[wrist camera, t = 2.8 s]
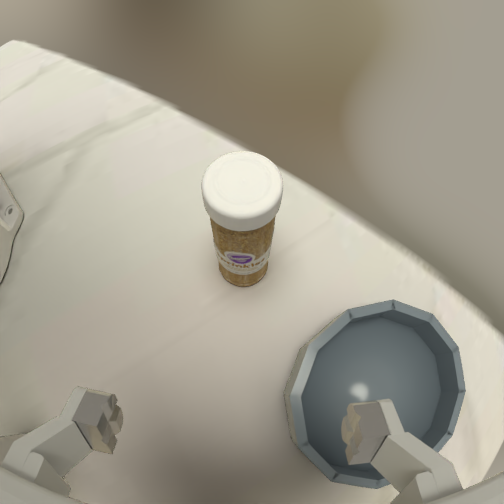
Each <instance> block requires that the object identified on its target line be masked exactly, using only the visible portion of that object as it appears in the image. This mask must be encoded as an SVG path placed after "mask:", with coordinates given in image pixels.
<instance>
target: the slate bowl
mask: <svg viewBox="0 0 504 504" xmlns="http://www.w3.org/2000/svg"><path fill="white" fill-rule="evenodd" d="M465 391H466V390H465V382H464V376H463V370H462V364H461V358H460V352H459V347H458V346H457V344H456V343H455V342H454V341H453V339H452V338H451V337H450V335H449V334H448V333H447V331H446V330H445V329H444V328H443V326H442V325H441V324H440V322H439V321H438V320H437V319H436V317H435V316H434V315H433V314H431V313H429V312H426V311H423V310H420V309H418V308H415V307H412V306H410V305H407V304H404V303H401V302H399V301H396V300H389V301H384V302H380V303H375V304H371V305H366V306H362V307H357V308H352V309H348V310H346V311H345V312H343V313H342V314H340V315H339V316H337V317H336V318H335V319H334V320H332V321H331V322H330V323H329V324H328V325H327V326H326V327H325V328H324V329H322V330H321V331H320V332H319V333H318V334H317V335H316V336H314V337H313V338H312V339H311V340H310V341H309V342H308V343H306V344H305V345H304V346H303V347H302V348H301V349H300V351H299V354H298V356H297V359H296V362H295V364H294V367H293V370H292V372H291V375H290V378H289V380H288V383H287V385H286V388H285V391H284V399H285V405H286V411H287V417H288V423H289V429H290V435H291V439H292V440H293V441H294V443H295V444H296V446H297V447H298V448H299V449H300V450H301V451H302V452H303V453H304V454H305V455H306V456H307V457H308V459H309V460H310V461H311V462H312V463H313V464H314V465H315V466H316V467H317V468H318V469H319V470H320V471H321V472H322V473H323V474H324V475H325V476H326V477H327V478H328V479H329V480H330V481H332V482H337V483H342V484H348V485H353V486H360V487H366V488H374V489H378V488H381V487H384V486H386V485H389V484H391V483H390V482H388V481H387V480H386V479H385V478H384V477H383V476H382V475H381V474H380V473H379V472H378V471H377V470H376V469H375V468H374V467H373V465H372V464H371V462H369V463H362V464H354V465H348V461H347V457H346V452H345V450H346V448H347V446H348V445H347V444H346V443H345V442H344V441H343V439H342V433H341V426H342V421H343V418H344V417H345V416H346V415H347V414H348V413H347V407H348V405H349V404H350V403H357V402H365V401H373V400H383V399H391V400H392V402H393V405H394V407H395V409H396V412H397V414H398V417H399V419H400V422H401V424H402V427H403V429H404V432H409V433H411V434H412V435H413V436H415V437H416V438H418V439H419V440H420V441H422V442H423V443H425V444H426V445H427V446H429V447H430V448H432V449H433V450H434V451H436V452H437V453H438V452H439V451H440V450H441V448H442V447H443V446H444V445H445V444H446V443H447V441H448V440H449V439H450V438H451V437H452V435H453V432H454V429H455V426H456V423H457V420H458V416H459V413H460V410H461V406H462V402H463V399H464V395H465Z"/></svg>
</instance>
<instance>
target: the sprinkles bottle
mask: <svg viewBox="0 0 504 504" xmlns="http://www.w3.org/2000/svg"><path fill="white" fill-rule="evenodd" d="M201 188H202V196H203V201H204V206H205V209H206V211H207V213H208V215H209V216H210V221H211V226H212V232H213V237H214V245H215V250H216V254H217V258H218V260H219V269H220V272H221V274H222V275H223V277H224V278H225V279H226V280H227V281H228V282H230V283H232V284H234V285H237V286H242V287H245V286H250V285H253V284H255V283H257V282H258V281H260V280H261V279H262V278H263V276H264V275H265V273H266V271H267V266H268V258H269V253H270V248H271V243H272V237H273V232H274V224H275V222H274V221H275V216H276V214H277V212H278V210H279V208H280V204H281V199H282V193H283V179H282V176H281V173H280V171H279V170H278V168H277V167H276V165H275V164H274V163H273V162H272V161H270V160H269V159H268V158H266V157H264V156H262V155H260V154H257V153H254V152H248V151H237V152H231V153H228V154H225V155H223V156H221V157H219V158H217V159H216V160H214V161H213V162H212V163H211V164H210V165H209V166H208V168H207V169H206V171H205V173H204V175H203V178H202V184H201Z"/></svg>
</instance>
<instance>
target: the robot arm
mask: <svg viewBox="0 0 504 504" xmlns="http://www.w3.org/2000/svg"><path fill="white" fill-rule="evenodd" d="M22 219H23V212H22V210H21V209H20V207H19V205H18V204H17V202H16V200H15V199H14V197H13V195H12V193H11V192H10V190H9V188H8V187H7V185H6V183H5V181H4V179H3V178H2V176H1V174H0V282H1V280H2V278H3V276H4V273H5V271H6V268H7V265H8V262H9V258H10V253H11V248H12V243H13V239H14V236H15V234H16V232H17V230H18V229H19V226H20V224H21V222H22ZM116 403H117V398H116V396H115V394H110V393H106V392H101V391H96V390H92V389H88V388H83V387H79V386H77V387H76V388H75V389H74V390H73V392H72V394H71V396H70V398H69V400H68V401H67V403H66V405H65V407H64V409H63V411H62V413H61V415H60V417H57V416H56V417H54V418H53V419H51V420H49V421H48V422H46V423H44V424H43V425H41V426H39V427H38V428H36V429H34V430H33V431H31V432H29V433H28V434H26V435H24V436H23V437H21V438H19V439H17V440H16V441H14V442H13V443H12V445H11V447H10V449H9V451H8V453H7V455H6V457H5V459H4V461H3V463H2V465H1V466H0V504H87V503H84V502H81V501H78V500H75V499H73V498H70V497H68V496H69V493H70V490H71V488H70V486H69V485H68V484H67V483H66V482H65V480H64V479H63V478H62V477H63V476H64V475H65V474H66V473H67V472H68V471H70V470H71V469H72V468H73V467H74V466H76V465H77V464H78V463H79V462H80V461H81V460H83V459H84V458H85V457H86V456H87V455H88V454H89V453H91V452H92V450H95V451H100V452H104V453H109V454H113V451H114V448H115V446H116V443H117V439H116V436H115V435H116V434H117V433H119V432H120V431H121V428H122V424H123V414H122V410H121V408H120V407H119V406H118V405H116ZM347 413H348V414H347V415H346V416H345V417H344V418H343V421H342V426H341V433H342V439H343V441H344V442H345V443H346V444H347V445H348V446H347V448H346V450H345V452H346V457H347V461H348V465H354V464H362V463H369V462H371V464H372V465H373V467H374V468H375V469H376V470H377V471H378V472H379V473H380V474H381V475H382V476H383V477H384V478H385V479H386V480H387V481H388V482H390V483H391V484H392V485H393V486H394V487H395V488H396V489H397V490H398V491H399V492H400V494H399V495H398V496H397V497H396V498H395V499H394V500H393V501H392V502H391V503H390V504H504V471H502V472H500V473H498V474H496V475H495V476H492V477H490V478H488V479H486V480H484V481H482V482H480V483H477V484H475V485H473V486H471V487H468V488H466V489H463V488H462V486H461V483H460V481H459V478H458V476H457V473H456V471H455V468H454V466H453V464H452V462H450V461H449V460H447V459H446V458H444V457H443V456H442V455H440V454H439V453H437V452H436V451H434V450H433V449H432V448H430V447H429V446H427V445H426V444H425V443H423V442H422V441H420V440H419V439H418V438H416V437H415V436H413V435H412V434H411V433H409V432H404V429H403V427H402V424H401V422H400V419H399V417H398V414H397V412H396V409H395V407H394V405H393V402H392V400H391V399H383V400H373V401H365V402H357V403H350V404H349V405H348V407H347Z"/></svg>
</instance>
